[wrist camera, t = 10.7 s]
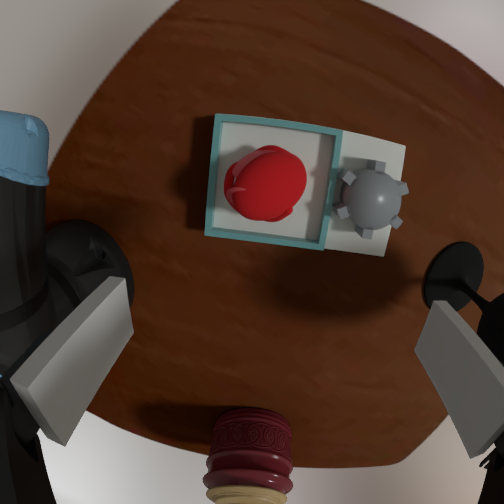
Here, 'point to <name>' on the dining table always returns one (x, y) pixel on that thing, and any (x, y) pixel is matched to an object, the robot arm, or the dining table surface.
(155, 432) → the dining table surface
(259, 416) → the canister
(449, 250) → the wine glass
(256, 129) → the carrier board
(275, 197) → the cap
